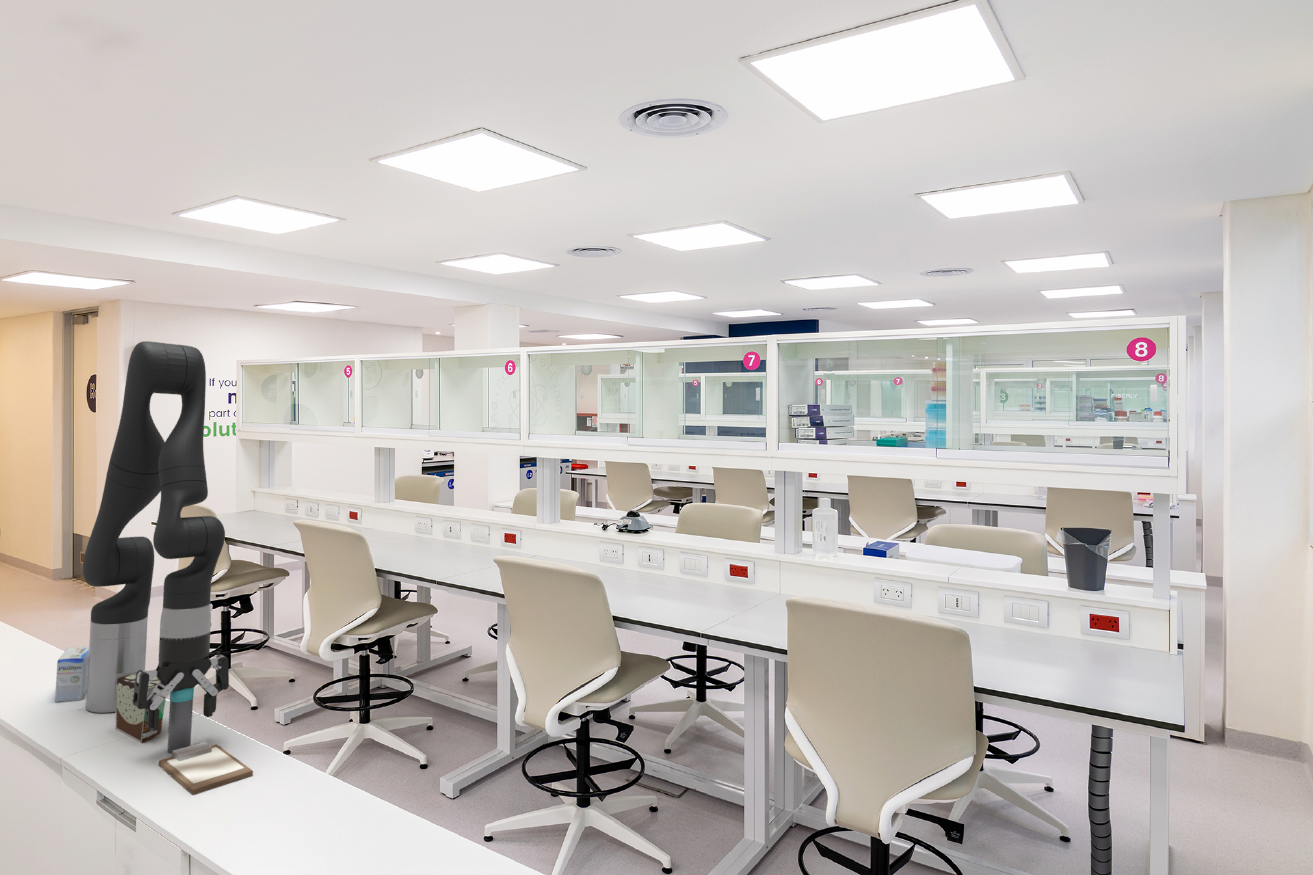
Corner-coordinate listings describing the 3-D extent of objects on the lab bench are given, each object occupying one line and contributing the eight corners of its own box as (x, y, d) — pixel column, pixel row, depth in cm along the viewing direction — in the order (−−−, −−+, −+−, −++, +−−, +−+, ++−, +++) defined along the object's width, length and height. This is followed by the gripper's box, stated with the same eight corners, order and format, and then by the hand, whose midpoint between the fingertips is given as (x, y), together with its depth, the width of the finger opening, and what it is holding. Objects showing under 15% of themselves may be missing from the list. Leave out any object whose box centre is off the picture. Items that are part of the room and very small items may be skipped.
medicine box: (63, 689, 153) (66, 647, 152) (90, 686, 155) (92, 645, 155) (54, 703, 146) (56, 659, 146) (82, 700, 148) (84, 657, 148)
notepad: (158, 765, 124) (158, 754, 124) (216, 748, 131) (216, 738, 131) (192, 794, 115) (193, 783, 115) (252, 775, 123) (253, 764, 122)
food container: (182, 733, 136) (185, 679, 136) (145, 745, 131) (148, 689, 130) (148, 716, 142) (151, 665, 142) (111, 726, 137) (114, 673, 137)
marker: (163, 749, 130) (167, 687, 129) (186, 743, 132) (189, 682, 132) (171, 755, 127) (175, 692, 127) (194, 749, 130) (197, 687, 130)
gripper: (220, 619, 137) (215, 706, 138) (130, 633, 126) (125, 728, 126) (238, 627, 133) (233, 717, 133) (146, 643, 122) (141, 741, 122)
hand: (181, 722), depth 130 cm, fingers open, 8 cm apart
